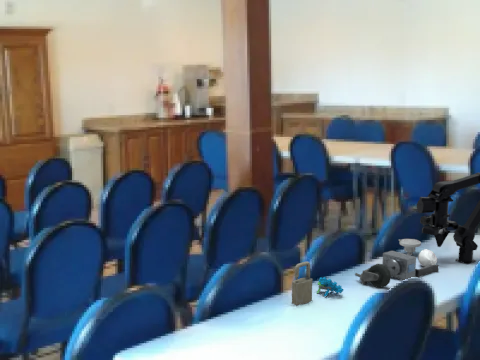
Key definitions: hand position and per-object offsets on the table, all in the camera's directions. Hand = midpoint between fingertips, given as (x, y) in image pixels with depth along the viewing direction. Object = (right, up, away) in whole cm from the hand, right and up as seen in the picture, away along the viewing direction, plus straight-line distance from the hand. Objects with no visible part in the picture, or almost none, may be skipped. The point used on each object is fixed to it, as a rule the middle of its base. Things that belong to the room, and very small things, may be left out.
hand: (439, 246), depth 298 cm
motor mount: (-17, -10, -12) cm, 23 cm away
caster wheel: (-35, -13, -27) cm, 46 cm away
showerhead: (-10, -5, +14) cm, 18 cm away
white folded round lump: (-6, -9, -4) cm, 11 cm away
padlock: (-64, -16, -47) cm, 81 cm away
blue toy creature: (-53, -15, -38) cm, 67 cm away
